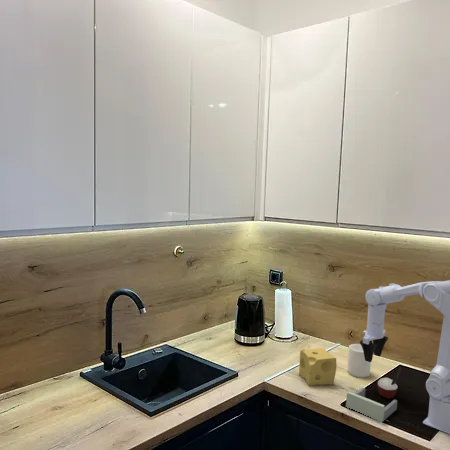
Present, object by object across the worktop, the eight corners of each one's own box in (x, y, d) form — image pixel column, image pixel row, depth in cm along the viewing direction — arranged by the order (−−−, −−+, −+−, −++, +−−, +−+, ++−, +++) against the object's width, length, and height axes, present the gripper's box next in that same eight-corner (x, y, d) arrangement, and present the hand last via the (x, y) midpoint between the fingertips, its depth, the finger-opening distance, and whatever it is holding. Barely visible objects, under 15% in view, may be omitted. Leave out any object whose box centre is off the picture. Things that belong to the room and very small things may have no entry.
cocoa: (373, 391, 153) (373, 358, 152) (390, 390, 153) (390, 357, 153) (385, 403, 143) (385, 368, 143) (403, 403, 144) (404, 368, 143)
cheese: (308, 386, 154) (310, 359, 153) (297, 373, 164) (299, 348, 163) (335, 384, 156) (337, 358, 155) (322, 371, 166) (324, 346, 165)
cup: (352, 378, 162) (354, 352, 161) (340, 364, 174) (341, 340, 173) (373, 377, 163) (375, 351, 162) (359, 364, 175) (361, 340, 174)
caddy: (396, 409, 140) (397, 394, 139) (381, 422, 132) (382, 406, 131) (362, 395, 148) (363, 382, 148) (345, 407, 140) (346, 392, 139)
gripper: (373, 315, 162) (371, 349, 163) (355, 323, 151) (353, 360, 152) (392, 319, 157) (389, 355, 158) (375, 328, 146) (372, 366, 148)
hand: (372, 358), depth 155 cm, fingers open, 7 cm apart
